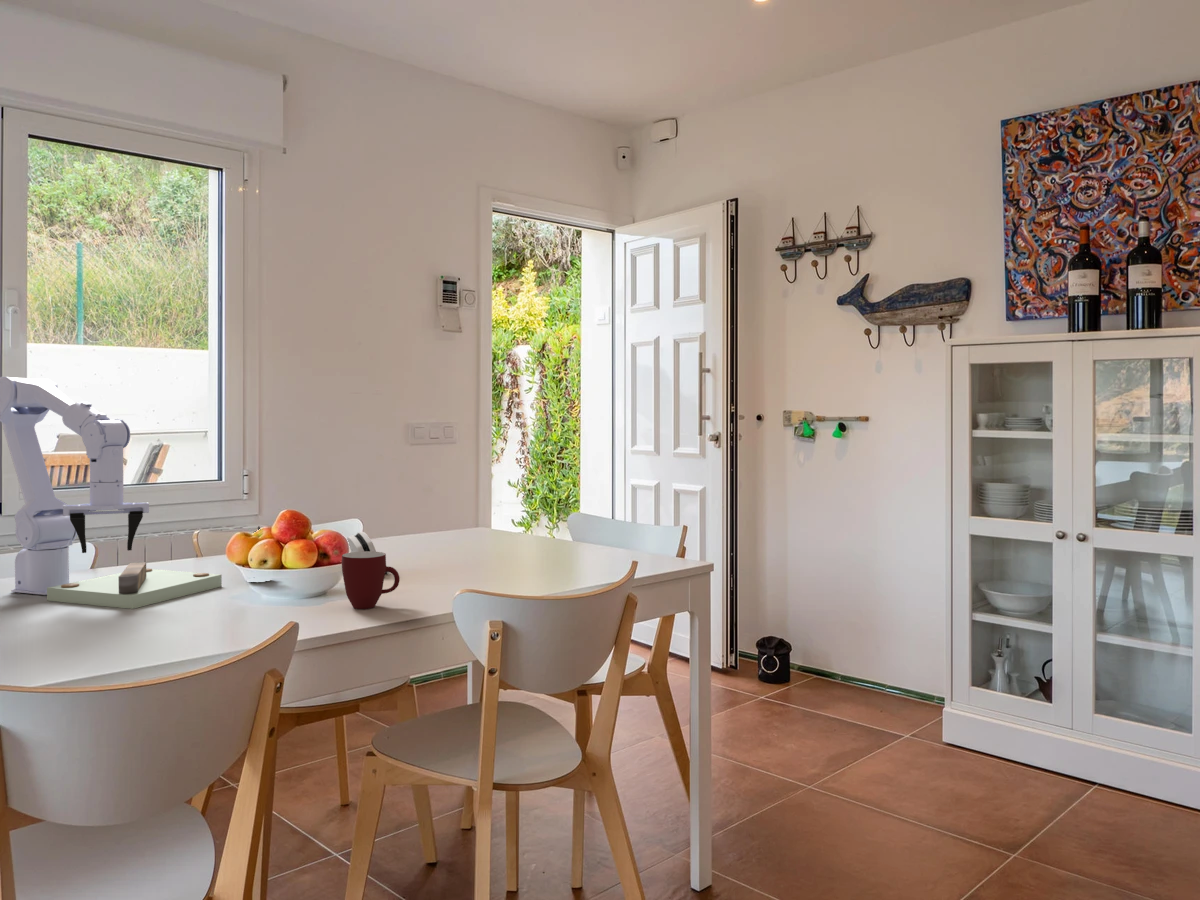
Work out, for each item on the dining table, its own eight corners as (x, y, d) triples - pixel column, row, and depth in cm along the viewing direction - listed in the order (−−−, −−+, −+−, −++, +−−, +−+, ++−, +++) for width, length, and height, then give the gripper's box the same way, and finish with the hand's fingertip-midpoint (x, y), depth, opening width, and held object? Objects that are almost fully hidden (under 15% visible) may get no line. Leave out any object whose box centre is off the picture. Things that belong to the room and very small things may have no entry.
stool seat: (47, 600, 169) (46, 586, 169) (142, 579, 191) (142, 567, 191) (132, 608, 163) (132, 593, 162) (221, 586, 184) (221, 573, 184)
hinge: (390, 574, 200) (375, 534, 198) (370, 582, 198) (355, 542, 196) (376, 563, 215) (362, 525, 213) (358, 570, 213) (343, 532, 212)
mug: (395, 600, 172) (395, 549, 172) (402, 608, 165) (402, 556, 164) (339, 604, 168) (339, 552, 168) (344, 613, 161) (344, 559, 160)
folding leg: (136, 592, 164) (136, 577, 164) (117, 594, 163) (117, 578, 162) (146, 576, 180) (146, 562, 180) (129, 577, 179) (129, 563, 179)
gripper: (62, 484, 163) (62, 556, 164) (149, 482, 170) (149, 551, 171) (63, 481, 169) (64, 550, 170) (147, 479, 177) (148, 546, 177)
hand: (107, 551), depth 171 cm, fingers open, 7 cm apart
